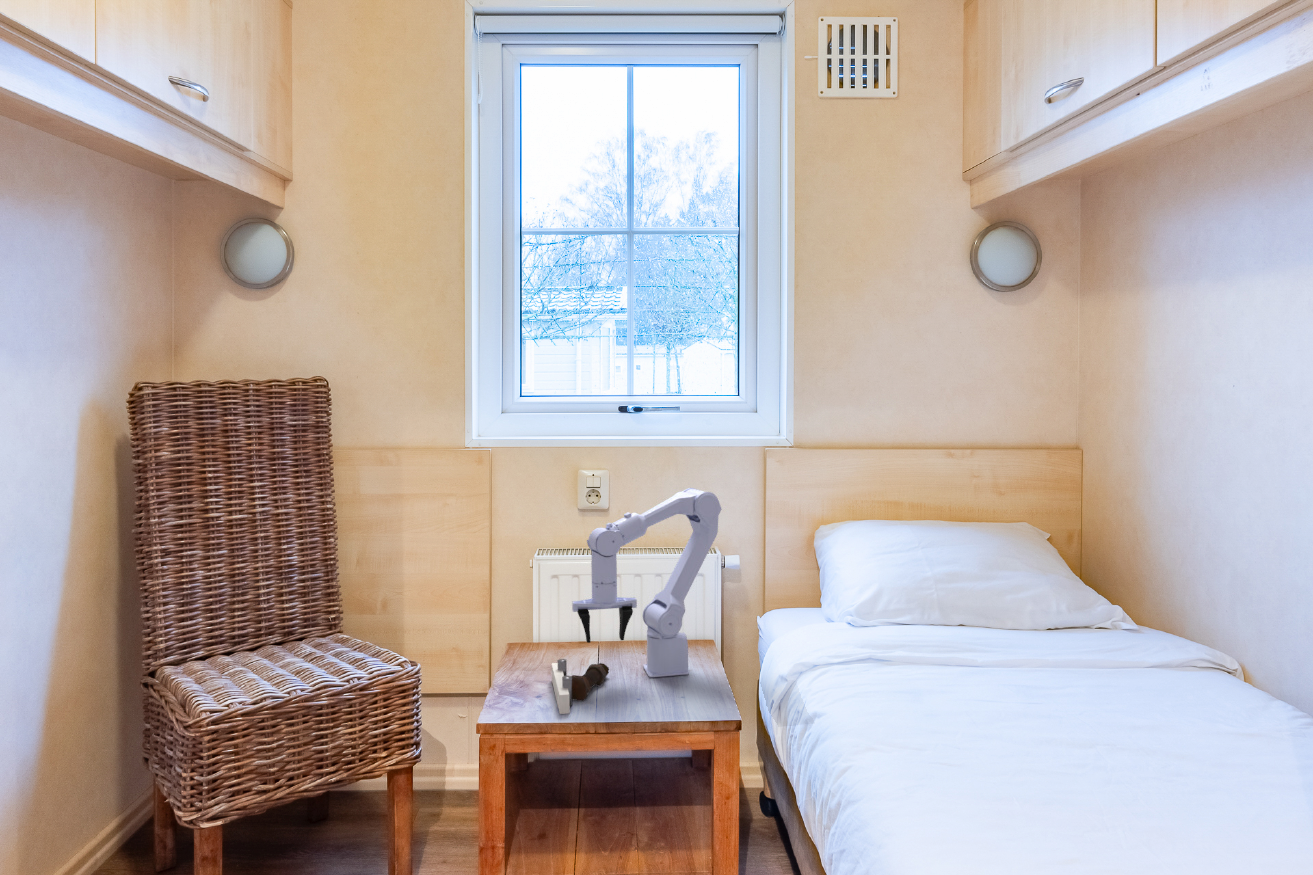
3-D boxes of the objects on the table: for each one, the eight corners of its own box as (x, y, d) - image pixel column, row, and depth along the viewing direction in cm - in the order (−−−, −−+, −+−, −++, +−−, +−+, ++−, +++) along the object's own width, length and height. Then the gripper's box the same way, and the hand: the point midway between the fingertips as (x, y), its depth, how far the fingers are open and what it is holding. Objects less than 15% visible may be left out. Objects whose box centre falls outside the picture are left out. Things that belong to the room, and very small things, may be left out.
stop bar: (564, 679, 189) (564, 653, 188) (574, 712, 169) (574, 684, 169) (551, 680, 188) (551, 654, 188) (559, 714, 168) (559, 685, 168)
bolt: (606, 685, 190) (579, 707, 176) (589, 672, 191) (560, 693, 177) (618, 665, 189) (591, 685, 175) (600, 652, 190) (573, 671, 176)
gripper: (574, 587, 181) (575, 647, 182) (639, 583, 184) (639, 643, 185) (570, 579, 188) (571, 638, 188) (633, 576, 191) (633, 633, 191)
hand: (605, 640), depth 187 cm, fingers open, 7 cm apart
